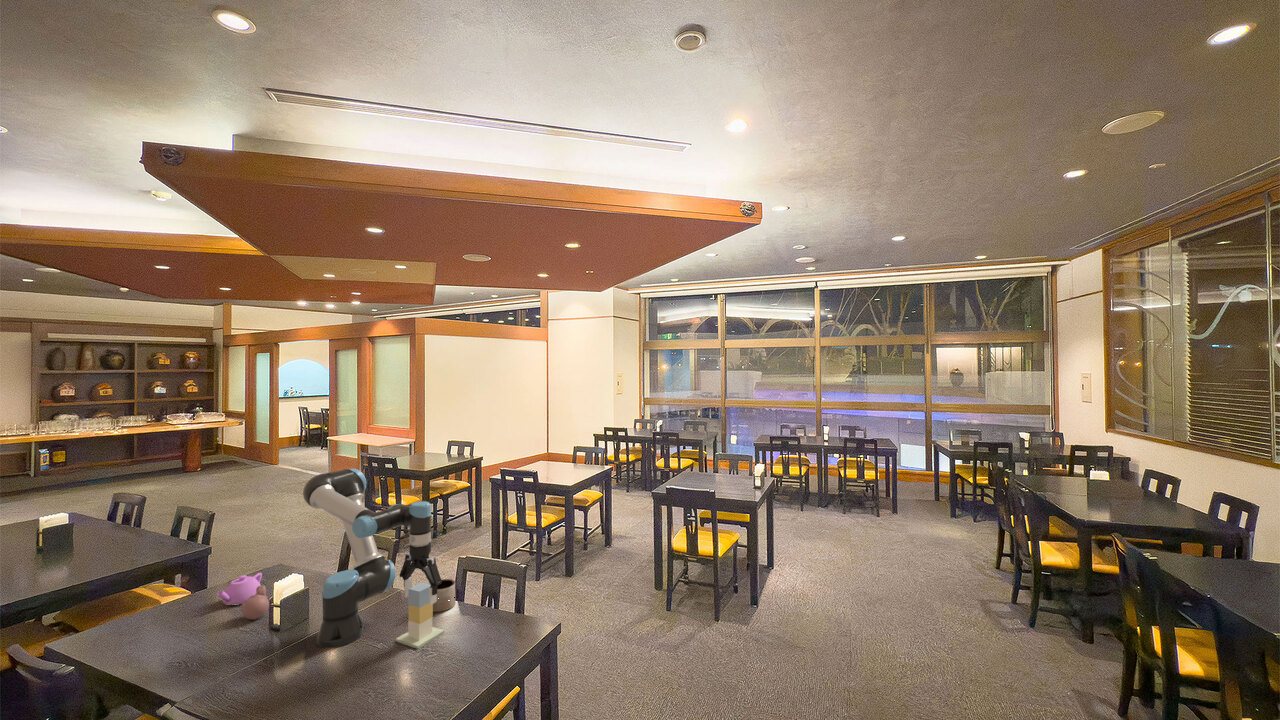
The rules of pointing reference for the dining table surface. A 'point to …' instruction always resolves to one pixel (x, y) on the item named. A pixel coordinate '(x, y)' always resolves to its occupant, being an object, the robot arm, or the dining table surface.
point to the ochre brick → (420, 613)
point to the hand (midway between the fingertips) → (420, 599)
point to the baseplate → (423, 641)
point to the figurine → (256, 604)
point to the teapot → (240, 589)
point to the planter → (445, 596)
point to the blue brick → (418, 595)
